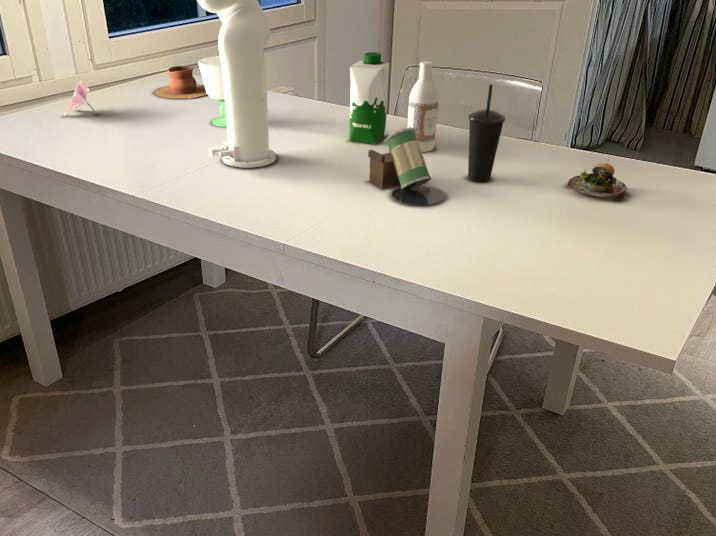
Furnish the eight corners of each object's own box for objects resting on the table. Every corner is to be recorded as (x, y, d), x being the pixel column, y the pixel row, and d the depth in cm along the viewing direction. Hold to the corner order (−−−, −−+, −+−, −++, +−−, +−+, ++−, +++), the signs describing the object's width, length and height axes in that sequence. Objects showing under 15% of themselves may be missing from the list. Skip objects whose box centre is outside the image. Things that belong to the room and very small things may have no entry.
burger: (555, 186, 154) (562, 152, 149) (598, 179, 157) (606, 145, 153) (593, 206, 144) (601, 170, 140) (638, 197, 148) (647, 162, 144)
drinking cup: (498, 175, 160) (512, 82, 148) (493, 186, 154) (507, 90, 142) (464, 171, 162) (475, 79, 150) (458, 182, 156) (469, 87, 144)
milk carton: (388, 135, 184) (393, 53, 173) (377, 146, 177) (381, 60, 166) (356, 132, 187) (359, 50, 175) (344, 142, 180) (346, 57, 168)
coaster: (412, 210, 143) (412, 208, 143) (381, 193, 151) (381, 191, 151) (455, 199, 148) (455, 198, 147) (422, 183, 155) (422, 182, 155)
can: (410, 200, 146) (415, 139, 139) (377, 183, 155) (380, 124, 148) (435, 194, 149) (441, 134, 142) (402, 177, 157) (405, 119, 150)
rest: (380, 189, 152) (381, 156, 148) (367, 182, 156) (368, 149, 152) (413, 181, 156) (416, 149, 152) (400, 175, 160) (402, 143, 156)
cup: (264, 120, 196) (261, 59, 187) (233, 132, 187) (228, 68, 178) (225, 112, 202) (220, 53, 193) (193, 124, 193) (187, 62, 184)
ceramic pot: (146, 97, 216) (142, 73, 212) (165, 83, 231) (163, 60, 227) (202, 100, 214) (200, 75, 210) (219, 86, 228) (217, 62, 224)
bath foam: (418, 154, 172) (424, 66, 160) (400, 147, 176) (405, 61, 165) (439, 149, 175) (447, 63, 163) (421, 142, 179) (428, 58, 168)
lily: (99, 109, 209) (77, 80, 204) (117, 100, 200) (95, 69, 195) (70, 132, 203) (47, 102, 198) (87, 123, 194) (64, 91, 190)
